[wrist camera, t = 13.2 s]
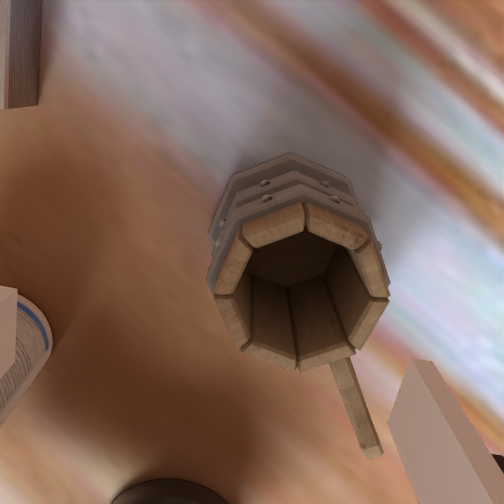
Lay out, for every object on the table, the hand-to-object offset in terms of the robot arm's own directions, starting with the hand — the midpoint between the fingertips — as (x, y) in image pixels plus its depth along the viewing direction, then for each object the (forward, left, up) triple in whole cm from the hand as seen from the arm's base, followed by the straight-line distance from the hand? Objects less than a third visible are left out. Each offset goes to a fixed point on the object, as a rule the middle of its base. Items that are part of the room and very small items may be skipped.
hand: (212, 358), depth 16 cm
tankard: (-6, -7, -27) cm, 29 cm away
